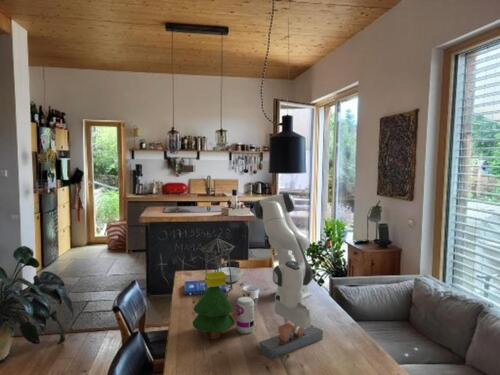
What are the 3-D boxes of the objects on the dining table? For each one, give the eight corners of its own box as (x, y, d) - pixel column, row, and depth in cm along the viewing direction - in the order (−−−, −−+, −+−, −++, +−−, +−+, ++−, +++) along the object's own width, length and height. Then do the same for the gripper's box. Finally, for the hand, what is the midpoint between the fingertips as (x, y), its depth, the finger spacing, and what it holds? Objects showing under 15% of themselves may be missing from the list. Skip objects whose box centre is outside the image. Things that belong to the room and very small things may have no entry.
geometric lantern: (221, 304, 205) (220, 242, 202) (199, 299, 213) (198, 239, 210) (237, 295, 218) (236, 237, 215) (216, 290, 227) (214, 234, 224)
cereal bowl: (241, 285, 236) (241, 274, 235) (215, 285, 236) (215, 274, 235) (242, 277, 252) (242, 266, 252) (218, 276, 253) (218, 266, 252)
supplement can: (241, 335, 170) (241, 304, 168) (233, 328, 177) (234, 297, 176) (256, 331, 173) (257, 301, 172) (248, 324, 181) (249, 295, 179)
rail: (309, 332, 174) (310, 324, 173) (322, 339, 167) (322, 330, 167) (259, 351, 156) (259, 342, 156) (270, 359, 150) (271, 350, 149)
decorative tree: (188, 329, 175) (188, 267, 172) (226, 323, 182) (227, 263, 180) (198, 349, 157) (198, 280, 155) (240, 341, 164) (240, 275, 162)
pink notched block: (298, 334, 166) (299, 319, 166) (304, 337, 163) (304, 322, 163) (278, 341, 159) (278, 326, 159) (283, 345, 156) (283, 329, 156)
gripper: (314, 306, 153) (313, 338, 154) (282, 291, 170) (282, 320, 171) (303, 309, 150) (302, 342, 151) (272, 293, 166) (271, 323, 167)
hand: (291, 330), depth 161 cm, fingers closed on pink notched block, 3 cm apart
